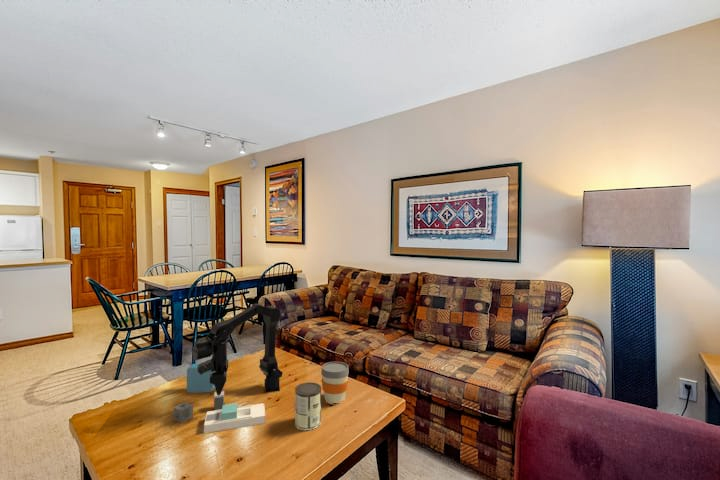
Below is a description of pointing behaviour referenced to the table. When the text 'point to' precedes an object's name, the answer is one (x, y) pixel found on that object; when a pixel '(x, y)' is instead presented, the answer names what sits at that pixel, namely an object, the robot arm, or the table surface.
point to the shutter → (229, 411)
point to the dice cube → (183, 412)
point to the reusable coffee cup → (334, 381)
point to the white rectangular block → (218, 401)
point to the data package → (198, 380)
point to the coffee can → (307, 406)
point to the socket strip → (244, 418)
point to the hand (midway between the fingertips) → (219, 390)
